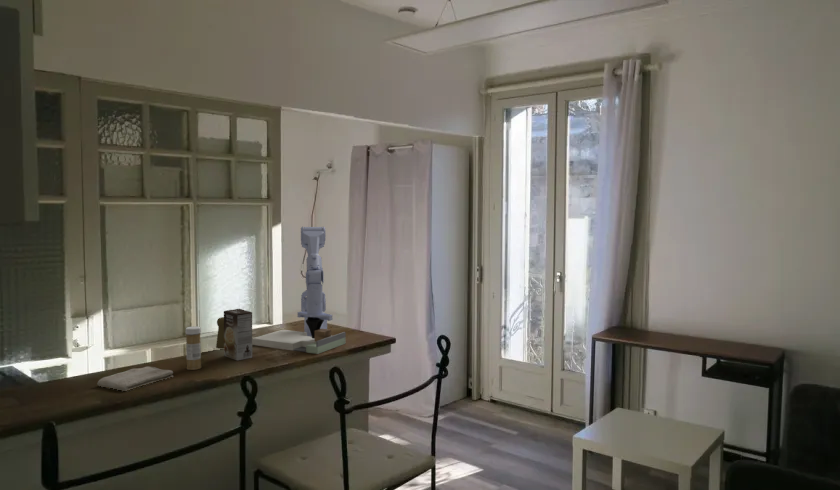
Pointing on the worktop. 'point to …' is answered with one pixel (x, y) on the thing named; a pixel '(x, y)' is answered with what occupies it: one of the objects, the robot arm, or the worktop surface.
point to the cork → (220, 333)
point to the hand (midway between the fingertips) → (314, 337)
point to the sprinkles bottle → (193, 347)
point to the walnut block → (322, 334)
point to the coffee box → (238, 334)
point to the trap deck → (299, 341)
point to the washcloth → (134, 378)
